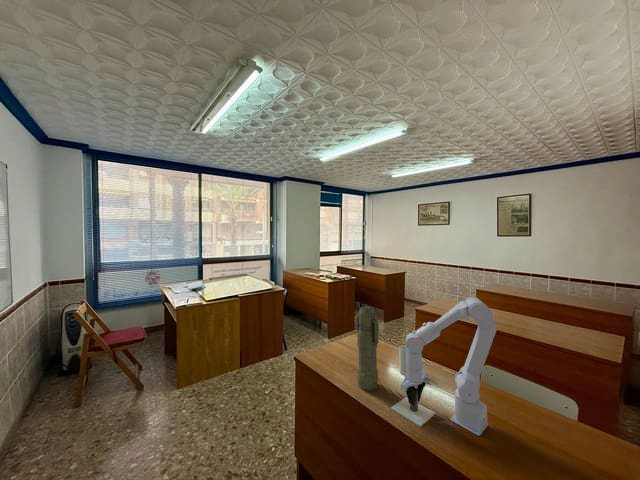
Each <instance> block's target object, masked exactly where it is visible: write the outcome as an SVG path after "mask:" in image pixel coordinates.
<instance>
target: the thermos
mask: <svg viewBox="0 0 640 480" xmlns="http://www.w3.org/2000/svg"><path fill="white" fill-rule="evenodd" d="M379 325H380V324H379V322H378V320H377V312H376V310H375V307H373V306H371V305H363V306H361V307H359V311H358V315H357V317H356V334H357V335H356V337H357V348H358V367H357V385H358V387H359V388H360V389H361V390H362V391H366V392H373V391H376V390H377V389H378V387H379V386H378V382H379V371H378V368H377V363H378V362H377V361H378V360H377V349H378V344H379V331H380V330H379V329H380V328H379Z"/></svg>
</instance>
